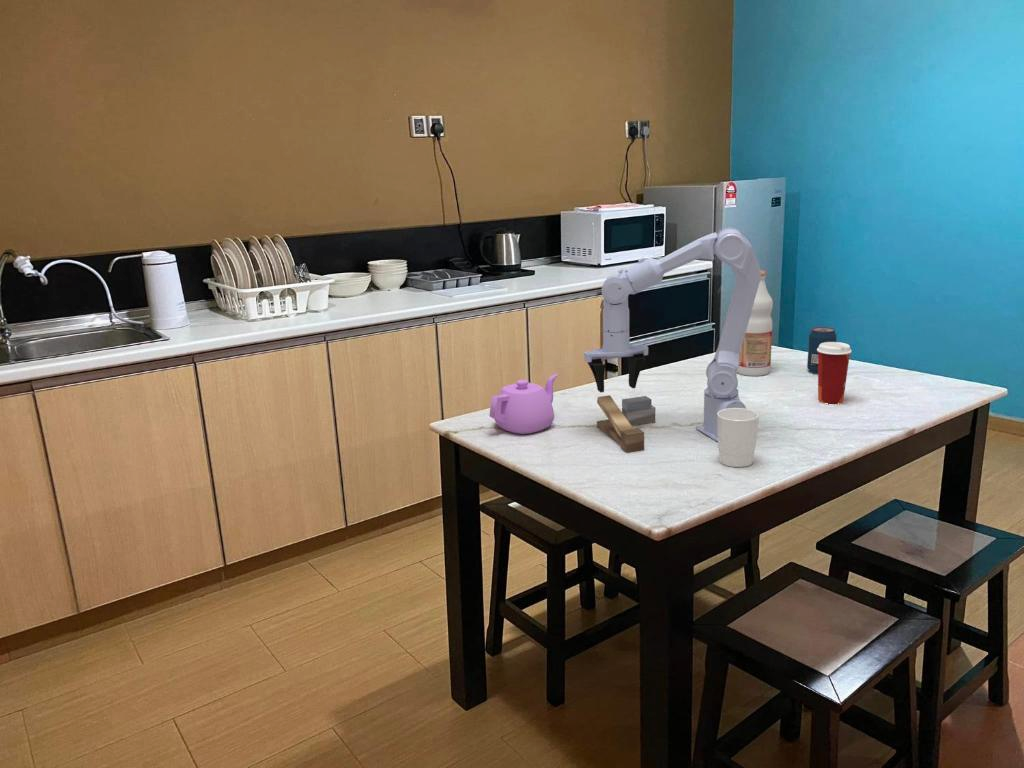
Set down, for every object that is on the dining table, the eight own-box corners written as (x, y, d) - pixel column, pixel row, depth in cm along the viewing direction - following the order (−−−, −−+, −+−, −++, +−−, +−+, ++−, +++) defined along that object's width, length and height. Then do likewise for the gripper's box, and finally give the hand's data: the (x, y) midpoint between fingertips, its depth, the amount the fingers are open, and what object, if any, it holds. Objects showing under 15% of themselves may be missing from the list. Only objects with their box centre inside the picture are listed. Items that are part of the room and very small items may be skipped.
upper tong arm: (634, 437, 169) (635, 431, 168) (621, 439, 168) (622, 433, 167) (609, 400, 180) (609, 395, 179) (597, 402, 179) (597, 396, 178)
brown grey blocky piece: (686, 443, 169) (687, 425, 168) (626, 452, 165) (626, 434, 164) (649, 418, 185) (649, 402, 184) (594, 426, 181) (593, 410, 180)
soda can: (815, 367, 220) (818, 325, 216) (839, 371, 215) (842, 328, 211) (801, 372, 216) (804, 329, 212) (825, 377, 210) (828, 333, 207)
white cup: (749, 452, 162) (751, 406, 159) (762, 467, 154) (764, 419, 152) (711, 455, 162) (712, 408, 159) (722, 469, 154) (723, 421, 151)
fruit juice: (727, 371, 220) (730, 271, 212) (751, 365, 224) (755, 267, 216) (753, 378, 212) (758, 275, 204) (777, 372, 217) (782, 270, 209)
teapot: (577, 422, 185) (576, 376, 182) (510, 443, 174) (508, 395, 171) (540, 409, 196) (538, 366, 192) (475, 429, 184) (472, 383, 181)
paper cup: (854, 403, 189) (859, 346, 185) (829, 408, 186) (833, 350, 182) (830, 394, 196) (834, 339, 192) (806, 399, 193) (809, 343, 189)
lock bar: (651, 407, 181) (651, 399, 180) (627, 411, 179) (627, 402, 179) (645, 404, 184) (645, 395, 183) (622, 407, 182) (621, 399, 182)
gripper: (638, 323, 178) (638, 380, 182) (578, 329, 174) (579, 388, 178) (652, 329, 172) (652, 388, 175) (590, 336, 168) (591, 396, 172)
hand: (616, 389), depth 176 cm, fingers open, 7 cm apart
